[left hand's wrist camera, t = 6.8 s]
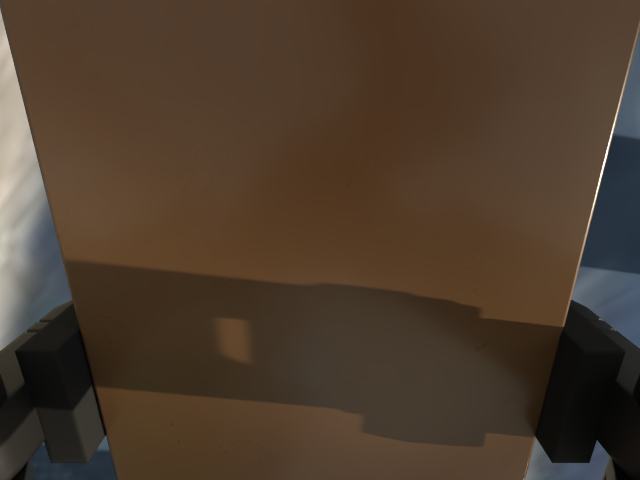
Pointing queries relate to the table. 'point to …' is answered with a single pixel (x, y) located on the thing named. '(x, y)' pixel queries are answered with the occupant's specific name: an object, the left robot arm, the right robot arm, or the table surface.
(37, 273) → the table surface
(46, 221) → the table surface
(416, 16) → the wide beam
